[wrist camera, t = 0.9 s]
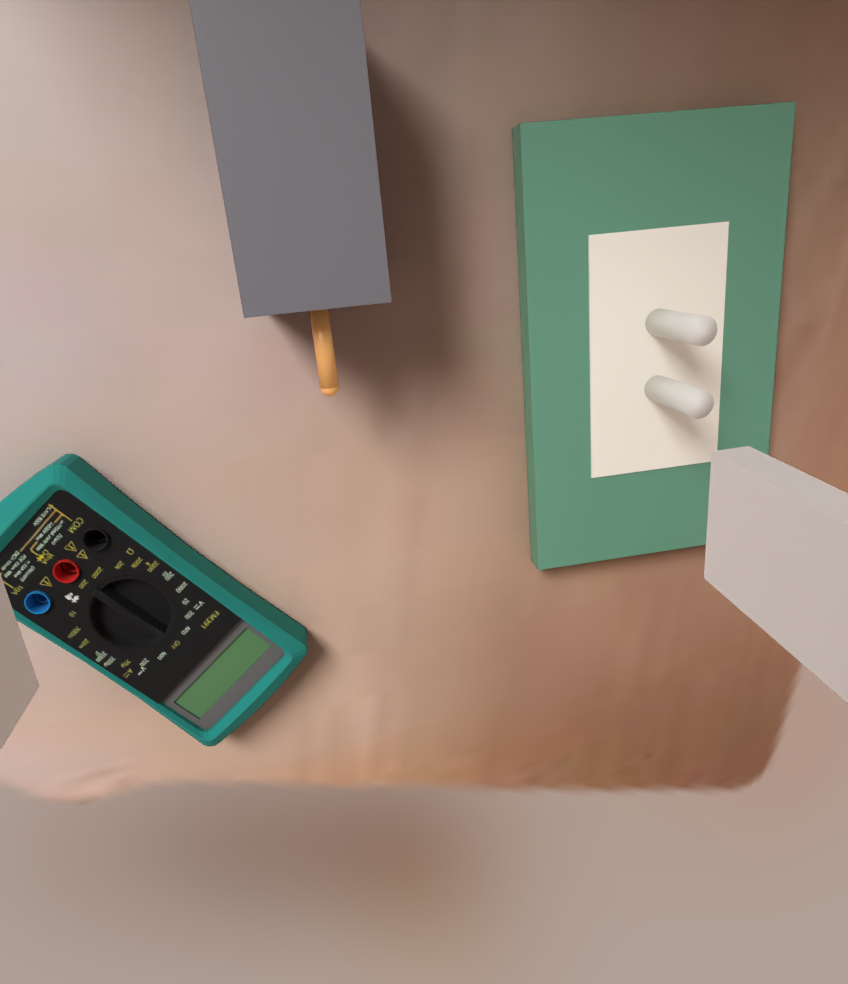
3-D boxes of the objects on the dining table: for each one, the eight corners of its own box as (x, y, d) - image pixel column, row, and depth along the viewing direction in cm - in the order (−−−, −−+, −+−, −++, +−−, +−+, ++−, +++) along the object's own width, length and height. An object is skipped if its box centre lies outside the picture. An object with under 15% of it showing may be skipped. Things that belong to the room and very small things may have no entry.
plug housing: (214, 35, 27) (182, -38, 20) (345, 27, 27) (355, -47, 21) (272, 381, 31) (260, 415, 24) (383, 368, 32) (401, 398, 25)
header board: (512, 128, 29) (552, 102, 24) (777, 107, 30) (866, 78, 26) (531, 560, 36) (565, 608, 31) (748, 527, 37) (814, 568, 32)
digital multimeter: (63, 437, 31) (38, 455, 28) (314, 628, 36) (314, 660, 33) (-38, 551, 32) (-72, 579, 29) (220, 723, 37) (212, 761, 34)
